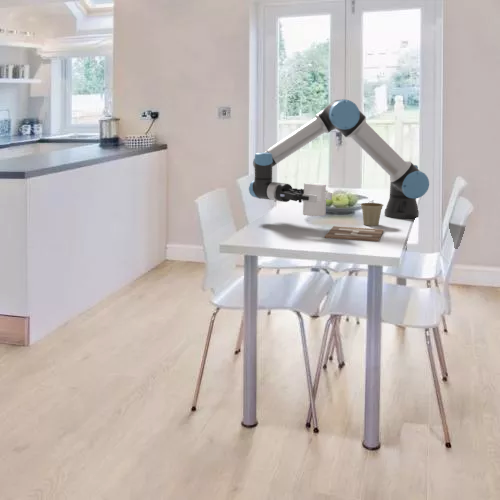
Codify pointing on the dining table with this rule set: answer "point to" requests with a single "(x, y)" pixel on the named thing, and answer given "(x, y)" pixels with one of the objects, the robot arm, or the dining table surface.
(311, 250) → the dining table surface
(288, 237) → the dining table surface
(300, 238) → the dining table surface
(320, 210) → the base with upright slab
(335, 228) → the letter board
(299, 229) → the dining table surface
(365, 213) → the flower pot
